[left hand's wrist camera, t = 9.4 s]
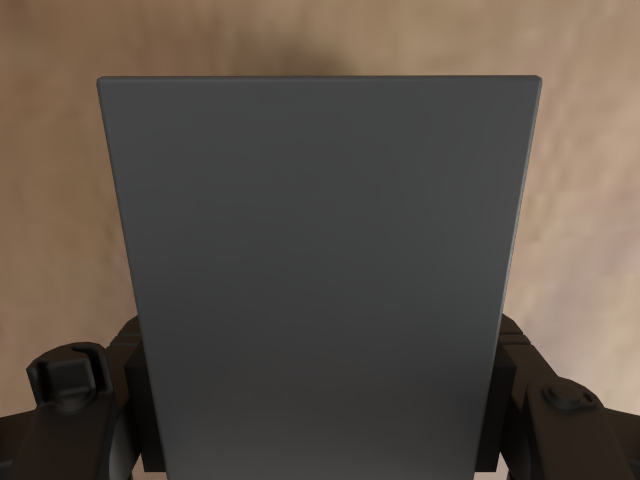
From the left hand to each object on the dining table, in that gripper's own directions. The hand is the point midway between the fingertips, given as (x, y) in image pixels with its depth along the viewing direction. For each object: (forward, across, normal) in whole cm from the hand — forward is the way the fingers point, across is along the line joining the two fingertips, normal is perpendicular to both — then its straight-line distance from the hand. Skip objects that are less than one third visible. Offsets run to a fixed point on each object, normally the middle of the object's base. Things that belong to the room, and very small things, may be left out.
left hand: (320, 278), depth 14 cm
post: (+1, 0, -34) cm, 34 cm away
